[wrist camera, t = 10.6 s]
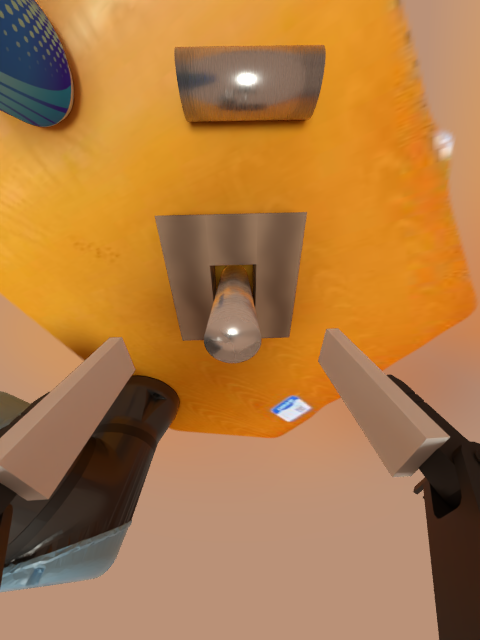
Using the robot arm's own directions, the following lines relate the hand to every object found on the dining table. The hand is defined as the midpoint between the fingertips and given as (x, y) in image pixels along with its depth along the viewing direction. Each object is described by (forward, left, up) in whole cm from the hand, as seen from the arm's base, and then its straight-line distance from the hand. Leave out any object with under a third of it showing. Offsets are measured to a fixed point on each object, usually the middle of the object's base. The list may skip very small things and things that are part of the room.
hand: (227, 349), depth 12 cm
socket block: (0, 0, -17) cm, 17 cm away
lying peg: (+2, +17, -13) cm, 22 cm away
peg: (0, 0, -17) cm, 17 cm away
